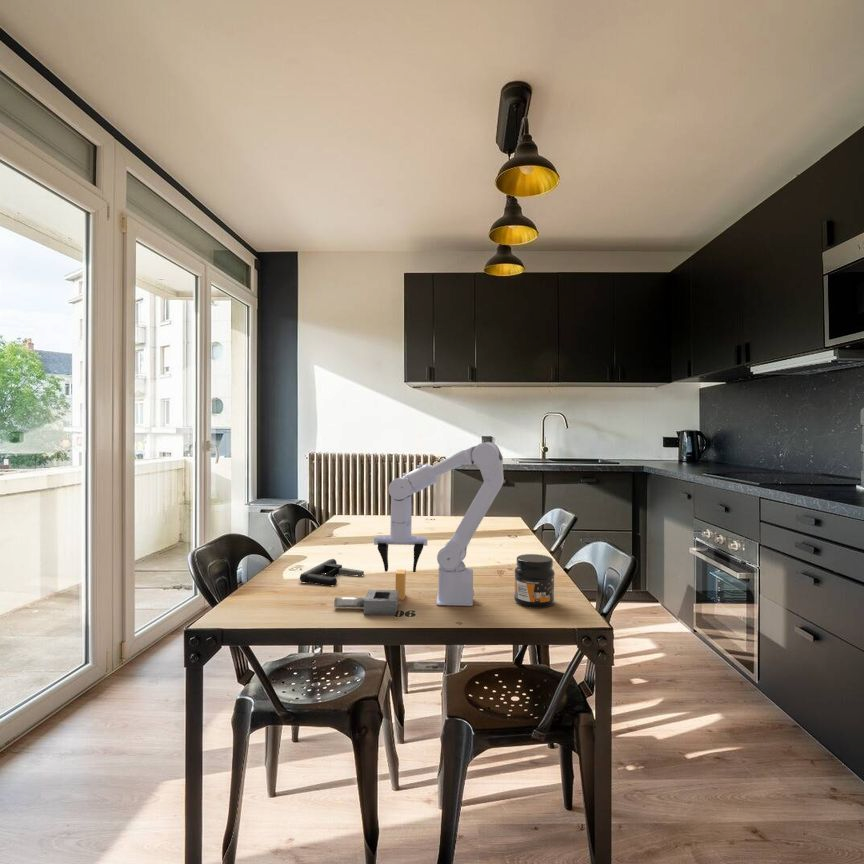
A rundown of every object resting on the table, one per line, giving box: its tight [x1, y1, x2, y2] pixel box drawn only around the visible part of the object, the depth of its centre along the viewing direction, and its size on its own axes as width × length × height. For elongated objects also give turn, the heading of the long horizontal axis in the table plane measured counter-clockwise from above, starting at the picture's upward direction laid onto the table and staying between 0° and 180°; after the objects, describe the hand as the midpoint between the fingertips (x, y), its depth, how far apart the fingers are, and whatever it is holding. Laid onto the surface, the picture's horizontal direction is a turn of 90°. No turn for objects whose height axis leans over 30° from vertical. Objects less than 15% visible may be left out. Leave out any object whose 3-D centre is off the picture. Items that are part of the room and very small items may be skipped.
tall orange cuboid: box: [395, 569, 407, 600], centre depth 152 cm, size 2×4×7 cm, turn 179°
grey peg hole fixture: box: [333, 589, 400, 616], centre depth 142 cm, size 16×9×4 cm, turn 89°
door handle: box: [299, 558, 365, 586], centre depth 171 cm, size 3×20×16 cm
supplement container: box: [514, 553, 556, 609], centre depth 148 cm, size 10×10×12 cm
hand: (400, 571), depth 152 cm, fingers open, 7 cm apart
